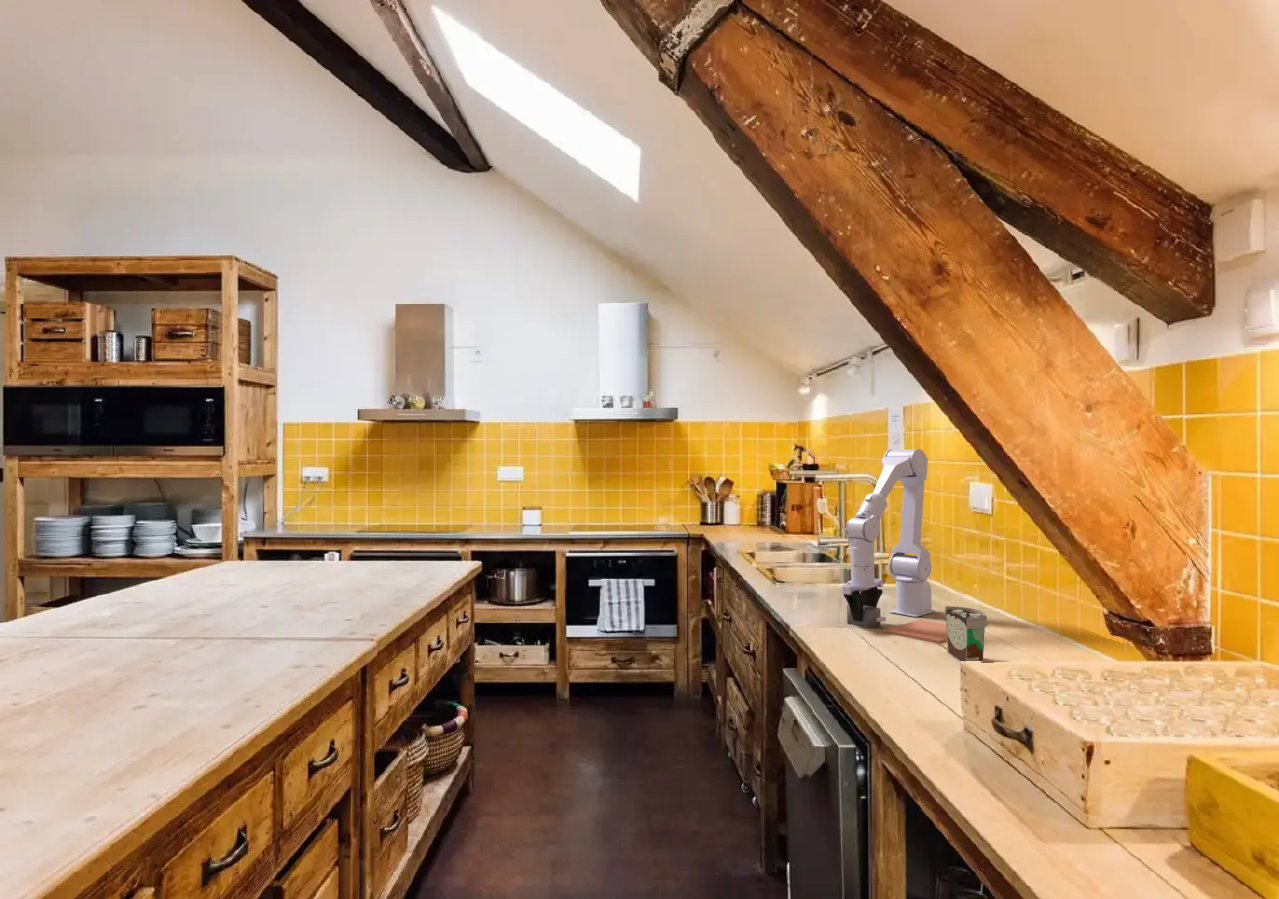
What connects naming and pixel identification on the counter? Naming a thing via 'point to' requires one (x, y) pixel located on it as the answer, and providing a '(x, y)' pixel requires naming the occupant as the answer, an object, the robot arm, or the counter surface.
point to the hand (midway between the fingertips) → (863, 619)
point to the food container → (965, 633)
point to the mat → (922, 630)
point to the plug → (867, 617)
